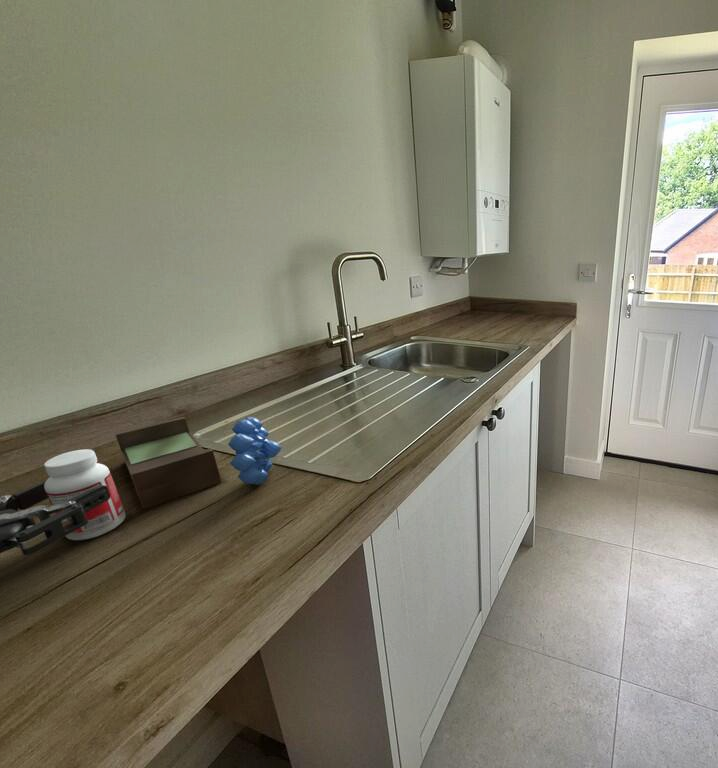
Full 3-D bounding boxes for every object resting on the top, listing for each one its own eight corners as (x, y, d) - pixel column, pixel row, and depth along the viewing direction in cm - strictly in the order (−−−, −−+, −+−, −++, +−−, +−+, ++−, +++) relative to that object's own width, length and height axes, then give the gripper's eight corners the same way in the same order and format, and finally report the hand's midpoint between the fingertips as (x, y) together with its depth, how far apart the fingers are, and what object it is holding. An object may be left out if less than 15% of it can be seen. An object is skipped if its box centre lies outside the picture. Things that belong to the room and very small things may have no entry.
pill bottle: (97, 513, 60) (71, 446, 57) (138, 513, 60) (114, 446, 57) (52, 542, 54) (19, 469, 51) (97, 542, 54) (68, 469, 51)
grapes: (279, 498, 64) (264, 428, 60) (230, 505, 62) (211, 434, 58) (295, 462, 74) (283, 401, 70) (253, 468, 73) (239, 405, 69)
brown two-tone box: (143, 509, 61) (131, 474, 59) (125, 462, 75) (114, 432, 73) (221, 482, 68) (213, 450, 66) (192, 444, 82) (184, 416, 80)
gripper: (-67, 557, 38) (116, 467, 53) (-186, 543, 39) (24, 460, 55) (-32, 618, 40) (133, 516, 55) (-146, 603, 42) (45, 508, 57)
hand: (79, 488), depth 55 cm, fingers open, 8 cm apart
